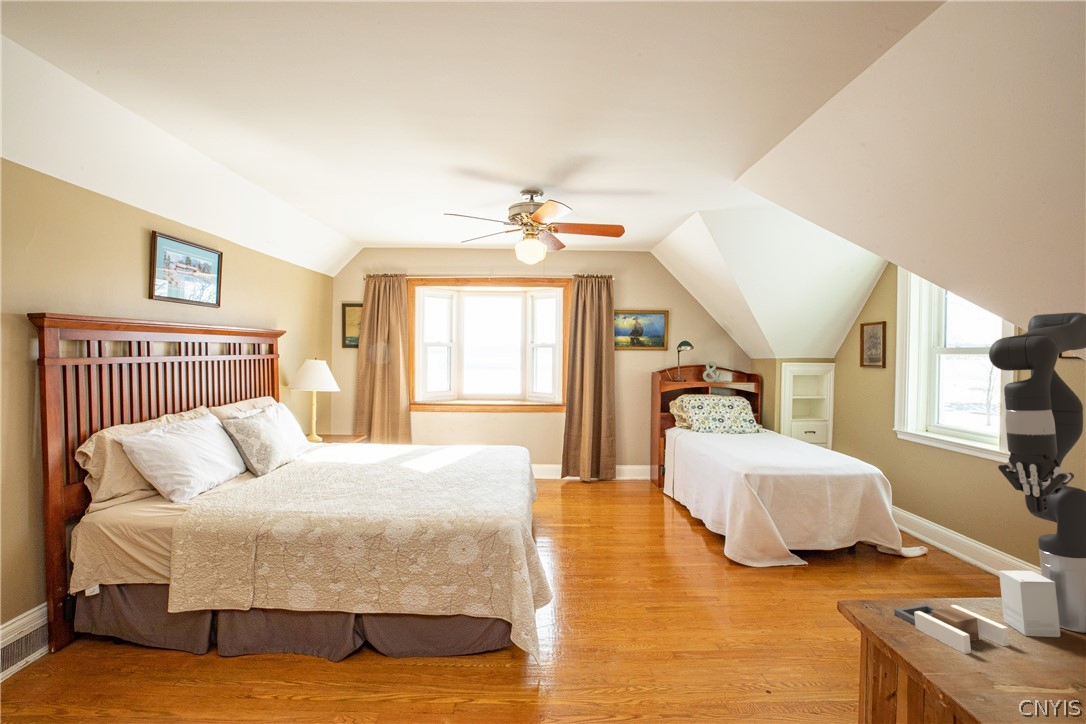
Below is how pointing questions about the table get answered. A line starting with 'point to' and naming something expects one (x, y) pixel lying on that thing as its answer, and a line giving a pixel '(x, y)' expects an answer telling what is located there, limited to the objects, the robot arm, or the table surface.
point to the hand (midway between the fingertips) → (1037, 513)
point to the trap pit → (908, 612)
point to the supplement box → (1029, 603)
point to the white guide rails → (956, 636)
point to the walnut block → (958, 620)
